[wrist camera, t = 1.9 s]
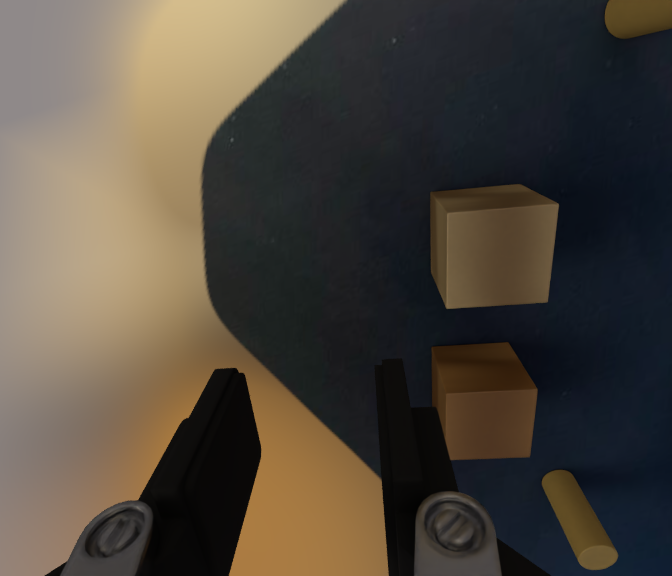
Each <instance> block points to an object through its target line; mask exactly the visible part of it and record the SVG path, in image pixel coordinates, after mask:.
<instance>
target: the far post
mask: <svg viewBox="0 0 672 576" xmlns="http://www.w3.org/2000/svg"><path fill="white" fill-rule="evenodd" d="M542 486H543V488H544V491H545V493H546V495H547V497H548V499H549V501H550V503H551V505H552V507H553V509H554V511H555V513H556V516H557V518H558V520H559V522H560V524H561V526H562V528H563V530H564V532H565V534H566V536H567V539H568V541H569V543H570V545H571V547H572V549H573V551H574V553H575V555H576V557H577V559H578V561H579V563H580V565H581V566H583V567H584V568H587V569H591V570H600V569H604V568H607V567H609V566H611V565H612V564H614V563H615V562H616V560H617V558H618V554H617V551H616V549H615V548H614V546H613V544H612V542H611V541H610V539H609V537H608V535H607V534H606V532H605V530H604V528H603V527H602V525H601V523H600V521H599V520H598V518H597V516H596V514H595V513H594V511H593V509H592V508H591V506H590V504H589V502H588V501H587V499H586V497H585V495H584V494H583V492H582V490H581V488H580V487H579V485H578V483H577V481H576V480H575V478H574V476H573V475H572V474H571V473H570V472H568V471H565V470H555V471H552V472H549V473H548V474H546V475H545V476H544V478H543V479H542Z"/></svg>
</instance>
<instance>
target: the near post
mask: <svg viewBox="0 0 672 576" xmlns="http://www.w3.org/2000/svg"><path fill="white" fill-rule="evenodd" d="M605 23H606V26H607V29H608V30H609V32H610V33H611V34H612V35H614V36H615V37H617V38H622V39H628V38H633V37H637V36H641V35H645V34H650V33H654V32H658V31H662V30H667V29H671V28H672V0H609V2H608V4H607V7H606V11H605Z"/></svg>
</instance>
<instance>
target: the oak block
mask: <svg viewBox="0 0 672 576" xmlns="http://www.w3.org/2000/svg"><path fill="white" fill-rule="evenodd" d="M537 392H538V389H537V388H536V386H535V384H534V383H533V381H532V379H531V378H530V376H529V375H528V373H527V371H526V370H525V368H524V367H523V365H522V363H521V362H520V360H519V359H518V357H517V355H516V354H515V352H514V351H513V349H512V347H511V346H510V344H509V343H508V342H505V343H488V344H470V345H453V346H436V347H432V407H436V408H437V410H438V414H439V418H440V421H441V425H442V429H443V433H444V437H445V441H446V445H447V449H448V453H449V456H450V460H463V459H492V458H520V457H530V452H531V444H532V435H533V426H534V418H535V409H536V400H537Z"/></svg>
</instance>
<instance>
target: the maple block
mask: <svg viewBox="0 0 672 576" xmlns="http://www.w3.org/2000/svg"><path fill="white" fill-rule="evenodd" d="M430 208H431V273H432V276H433V278H434V280H435V283H436V285H437V287H438V290H439V292H440V294H441V297H442V299H443V301H444V304H445V306H446V308H447V309H453V308H468V307H484V306H499V305H514V304H530V303H545V302H548V295H549V286H550V278H551V269H552V260H553V252H554V243H555V234H556V226H557V217H558V208H559V204H558V203H556V202H554V201H552V200H550V199H548V198H546V197H544V196H543V195H541V194H539V193H537V192H535V191H533V190H531V189H529V188H527V187H525V186H523V185H521V184H515V185H503V186H492V187H481V188H470V189H458V190H447V191H436V192H431V193H430Z"/></svg>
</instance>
